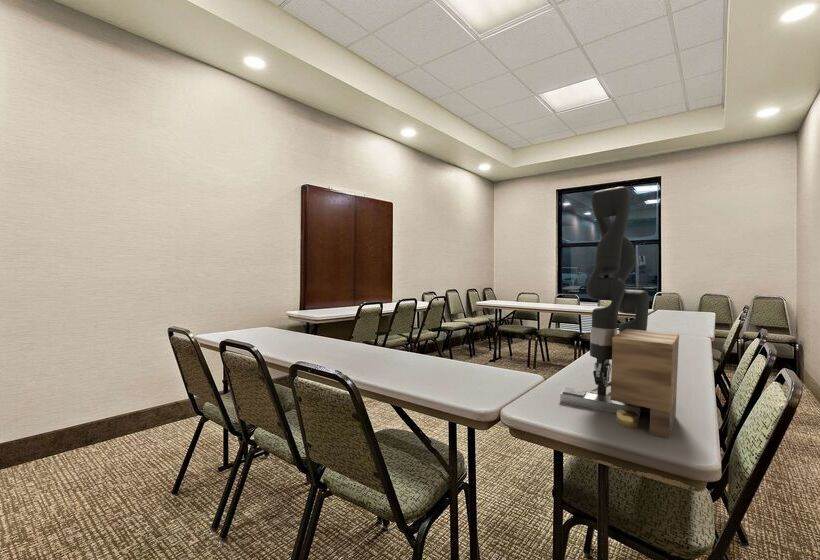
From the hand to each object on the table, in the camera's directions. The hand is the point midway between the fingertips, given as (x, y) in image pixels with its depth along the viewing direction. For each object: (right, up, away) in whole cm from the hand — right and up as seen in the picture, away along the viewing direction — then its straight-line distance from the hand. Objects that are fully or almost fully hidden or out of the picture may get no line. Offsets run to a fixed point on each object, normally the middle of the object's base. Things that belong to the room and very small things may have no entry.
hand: (601, 397), depth 119 cm
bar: (-3, -2, -5) cm, 6 cm away
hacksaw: (+9, -2, +10) cm, 14 cm away
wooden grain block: (+4, -2, -15) cm, 16 cm away
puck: (-2, -2, -17) cm, 18 cm away
